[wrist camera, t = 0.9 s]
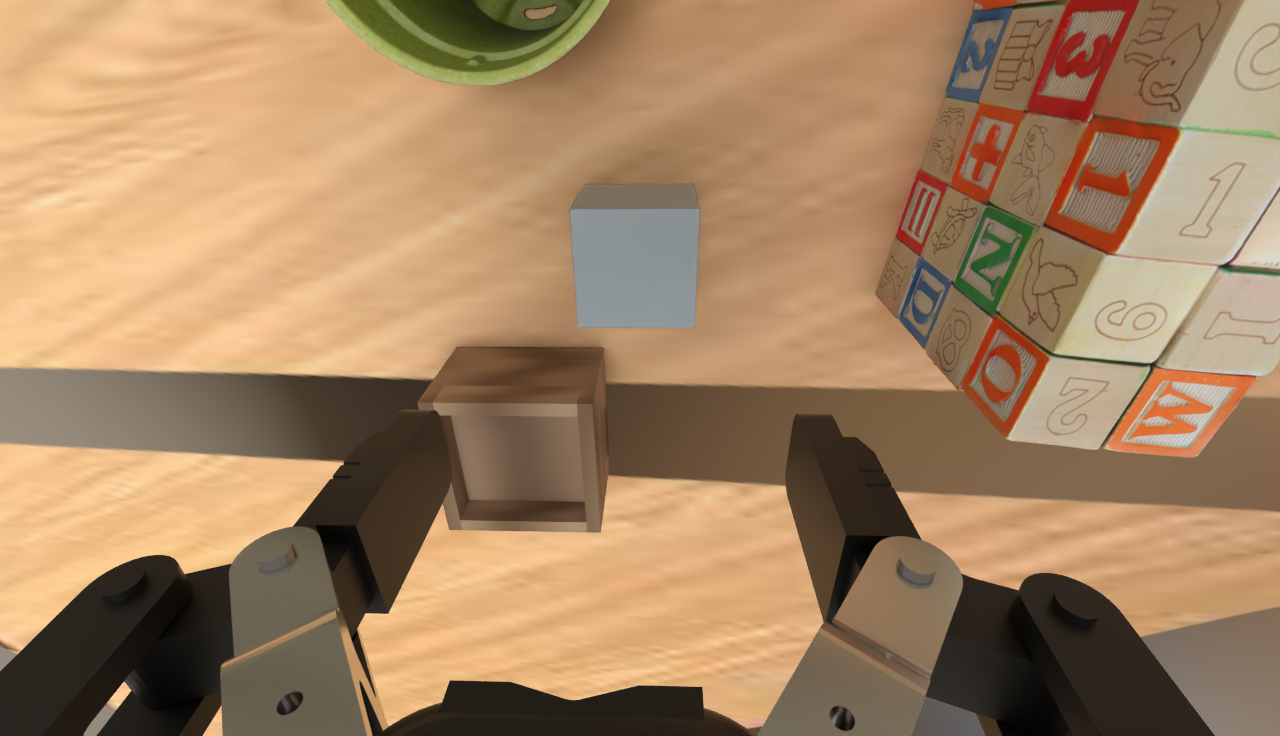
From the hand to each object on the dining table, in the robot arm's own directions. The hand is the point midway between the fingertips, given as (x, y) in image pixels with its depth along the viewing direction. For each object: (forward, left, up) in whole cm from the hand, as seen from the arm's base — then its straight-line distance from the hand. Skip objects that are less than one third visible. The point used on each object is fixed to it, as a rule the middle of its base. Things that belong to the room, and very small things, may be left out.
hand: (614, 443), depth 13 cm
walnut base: (+6, +10, -16) cm, 20 cm away
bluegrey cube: (0, 0, -16) cm, 16 cm away
